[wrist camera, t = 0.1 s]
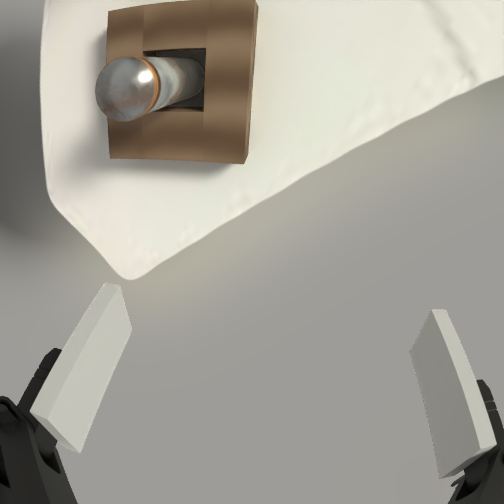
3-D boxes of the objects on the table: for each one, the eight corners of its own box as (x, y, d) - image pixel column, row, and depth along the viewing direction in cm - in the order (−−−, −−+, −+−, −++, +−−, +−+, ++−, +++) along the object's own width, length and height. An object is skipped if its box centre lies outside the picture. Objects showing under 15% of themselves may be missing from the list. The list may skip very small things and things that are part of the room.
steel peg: (163, 58, 31) (95, 60, 19) (206, 57, 31) (156, 53, 18) (162, 99, 34) (96, 123, 22) (204, 99, 34) (155, 121, 21)
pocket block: (124, 14, 28) (108, 11, 25) (258, 6, 27) (255, -1, 24) (124, 149, 38) (110, 158, 34) (248, 154, 37) (243, 164, 34)
